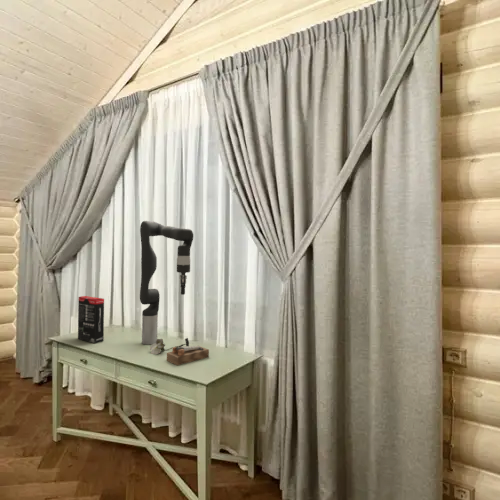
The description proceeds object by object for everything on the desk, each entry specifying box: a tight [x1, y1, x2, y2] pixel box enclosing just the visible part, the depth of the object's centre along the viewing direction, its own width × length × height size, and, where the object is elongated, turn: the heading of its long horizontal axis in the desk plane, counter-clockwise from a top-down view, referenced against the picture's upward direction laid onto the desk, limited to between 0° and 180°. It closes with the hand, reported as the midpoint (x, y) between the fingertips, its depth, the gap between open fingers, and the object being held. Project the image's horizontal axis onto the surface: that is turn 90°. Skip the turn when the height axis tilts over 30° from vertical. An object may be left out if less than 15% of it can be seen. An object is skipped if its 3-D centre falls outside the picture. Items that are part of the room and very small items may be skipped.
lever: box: [176, 345, 202, 350], centre depth 179 cm, size 14×3×1 cm, turn 135°
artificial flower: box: [149, 337, 190, 355], centre depth 192 cm, size 9×22×10 cm, turn 112°
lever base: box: [166, 345, 210, 366], centre depth 179 cm, size 20×10×7 cm, turn 135°
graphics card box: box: [77, 295, 105, 344], centre depth 210 cm, size 17×7×27 cm, turn 63°
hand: (182, 294), depth 190 cm, fingers closed
